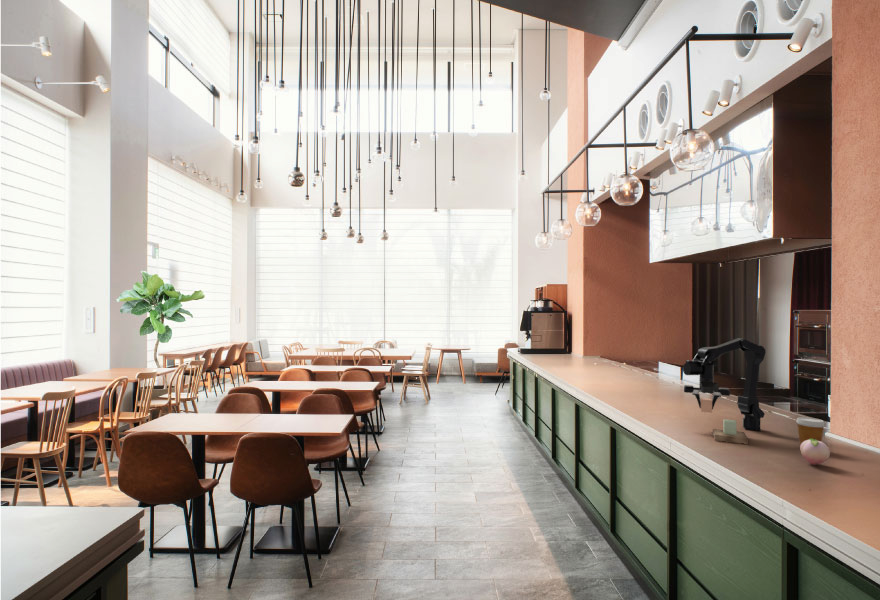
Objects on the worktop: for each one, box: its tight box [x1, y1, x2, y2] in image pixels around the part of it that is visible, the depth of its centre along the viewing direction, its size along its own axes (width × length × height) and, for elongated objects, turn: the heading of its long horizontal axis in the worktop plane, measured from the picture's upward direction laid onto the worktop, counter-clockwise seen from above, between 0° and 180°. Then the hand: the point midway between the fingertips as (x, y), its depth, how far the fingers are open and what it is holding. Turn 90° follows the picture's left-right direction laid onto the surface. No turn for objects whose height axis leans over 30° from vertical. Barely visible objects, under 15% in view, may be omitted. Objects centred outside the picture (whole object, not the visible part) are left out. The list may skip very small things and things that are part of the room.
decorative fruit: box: [799, 437, 831, 466], centre depth 182 cm, size 9×8×10 cm
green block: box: [722, 418, 738, 435], centre depth 217 cm, size 4×4×6 cm
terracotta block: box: [699, 397, 713, 413], centre depth 233 cm, size 4×4×6 cm
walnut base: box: [712, 428, 749, 445], centre depth 217 cm, size 12×12×2 cm
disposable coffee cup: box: [795, 416, 826, 445], centre depth 203 cm, size 10×10×12 cm
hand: (706, 408), depth 233 cm, fingers closed on terracotta block, 4 cm apart
